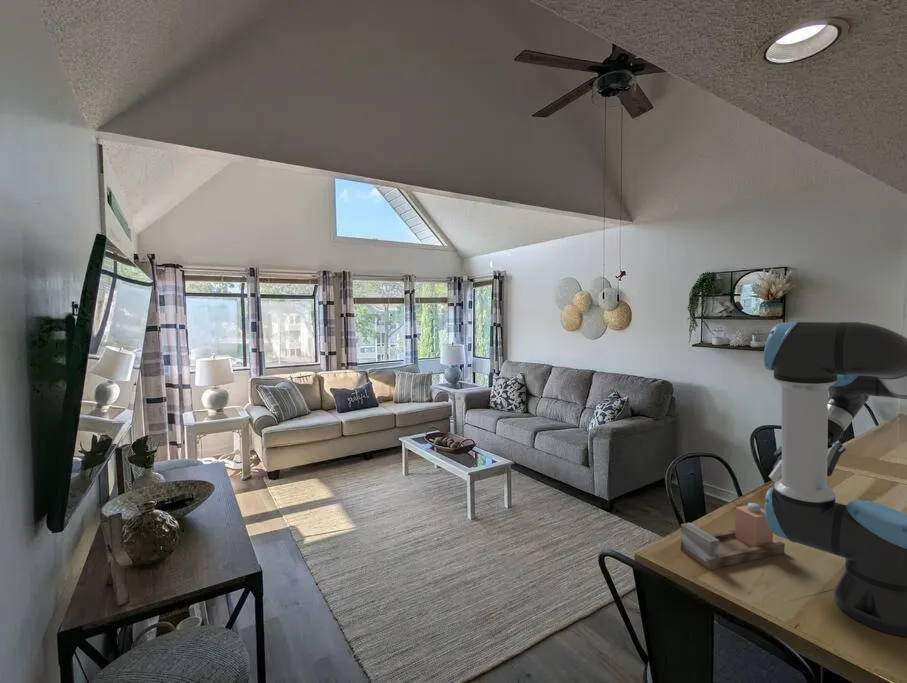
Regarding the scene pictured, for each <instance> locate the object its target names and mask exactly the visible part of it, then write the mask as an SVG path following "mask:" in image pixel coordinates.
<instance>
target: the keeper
mask: <svg viewBox="0 0 907 683" xmlns="http://www.w3.org/2000/svg"><path fill="white" fill-rule="evenodd" d="M734 515H735V517H734V518H735V522H734V523H735V528H734V530H735V538H737V539H739V540H740V541H742V542H744V543H746V544H748V545H749V546H751V547H757V546H761V545H766V544H771V543H773V542H774V540H773V539H774V533H773V532H772V531H771V530H770V528H769V527H768V524H767V521H766V517H765V509H763V508H762V507H761V505H760V504H758V503H756V502H748V503H747V505H742V506H741V505H740V506H736V507H735V514H734Z"/></svg>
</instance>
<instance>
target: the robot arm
mask: <svg viewBox="0 0 907 683" xmlns="http://www.w3.org/2000/svg"><path fill="white" fill-rule="evenodd" d="M767 336H768V337H767V339H766V341H765V345H764V350H763V351H764V352H763V364H764V368H765V369H767V370H768V371H771V372H772V371H773V379H774V380H775V382H777V383H778V384H779V385H780V386H781V445H780V446H779V447H778V449H776V450H775V452H773V456H774V457H775V458H777V460H776V462H775V463H774V465H773V467H772V468H773V470H771V472H770V474H769V475H768V478H769V479H770V480H771V481H772V482H774V485H773V487H770V488H769V489H767V491H766V493H765V499H764V500H765V503H764V510H765V517H766V521H767V524H768V527H769V528H770V530H771V531H772V532H773V535H775V536H777V537H780V538H782V539H786V540H788V541H790V542H792V543H797V544H800V545H804V546H806V547H809V548H812V549H816V550H819V551H822V552H826V553H828V554H831V555H835V556H838V557H841V558H844V559H845V568H844V570H843V572H842V574H841V575H840V577H839V579H838V581H837V584H835V587H834V594H833V596H834V597H833V599H834V603H835V605H836V606H837V607H838V608H839V609H840V610H841V611H842V612H843V613H845V614H846V615H848V616H849V617H850V618H852V619H854V620H855V621H857V622H858V623H860V624H863V625H865V626H867V627H870V628H872V629H873V630H874V629H875V630H877V631H879V632H883V633H886V634H889V635H894V636H899V637H903V638H905V637H906V638H907V515H906V514H905V513H904V512H901V511H899V510H897V509H896V508H893V507H890V506H888V505H884V504H881V503H878V502H874V501H870V500H861V499H851V500H849V501H848V503H847V504H844V503H839V502H836V493H835V491H834V490H833V489H831V488H830V487H829V486H828V477H831V476H832V475H833V472H834V470H835V469H836V466H837V464H838V462H839V460H840V457H841V455H842V454H843V453H844V452H846V450H847V449H846V448H845V446H844V445H843V444H842V443H841V442H838V441H839V440H840V439H841V437H842V436H843V435H844V433H845V431H846V430H847V428H848V427H849V426H850V424H851V423H852V421H853V420H854V419H855V417H856V416H857V414H858V413H859V412H860V410H862V408H863V406H864V405H865V404H866V403H867V402H868V401H869V398H870V396H871V397H872V396H873V397H881V398H882V397H883V398H890V399H892V398H893V399H900V400H907V337H906V336H904V335H902V334H900V333H898V332H896V331H894V330H892V329H889V328H887V327H884V326H880V325H877V324H871V323H867V322H860V321H849V322H847V321H846V322H845V321H788V322H780V323H777V324H775V325H774V326H773V327H772V329H771V330H770V332H769V334H768V335H767ZM829 449H830V451H829V452H828V450H829Z"/></svg>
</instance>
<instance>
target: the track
mask: <svg viewBox="0 0 907 683" xmlns="http://www.w3.org/2000/svg"><path fill="white" fill-rule="evenodd" d="M785 545H786V544H785V543H784V542H783V541H776V542H774V541H773V543H771V544H766V545H761V546H757V547H751V546H749V545H748V544H746V543H744V542H742V541H740V540H739V539H737V538H735V529H733V530H727V531H722V532H718V533H713V534H709V533H708V532H706V531H704V530H703V529H701V528H700V527H698V526H696V525H694V524H692V523H691V522H685V523H681V524H680V551H681V552H683V553H685V554H686V555H687V556H689V557H690V558H692V559H693V560H695V561H696V562H698V563H699V564H701V565H702V566H703V567H705V568H706V569H708V570H714V569H718V568H723V567H728V566H733V565H737V564H742V563H747V562H751V561H755V560H759V559H764V558H768V557H774V556H778V555H782V554H785Z"/></svg>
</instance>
